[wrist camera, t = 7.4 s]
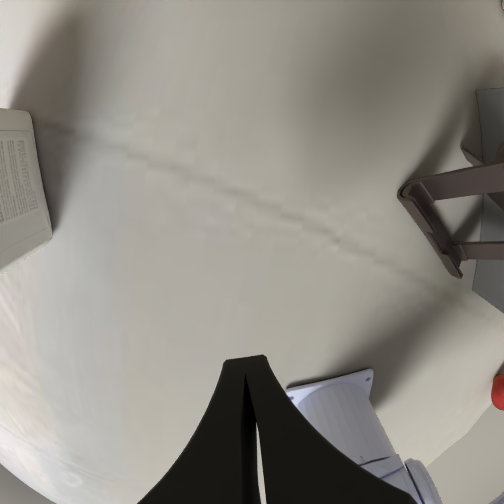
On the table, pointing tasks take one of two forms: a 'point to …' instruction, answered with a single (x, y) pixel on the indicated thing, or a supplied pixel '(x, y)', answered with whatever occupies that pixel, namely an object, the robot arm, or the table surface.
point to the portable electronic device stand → (451, 186)
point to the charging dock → (493, 218)
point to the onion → (498, 392)
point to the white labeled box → (20, 192)
